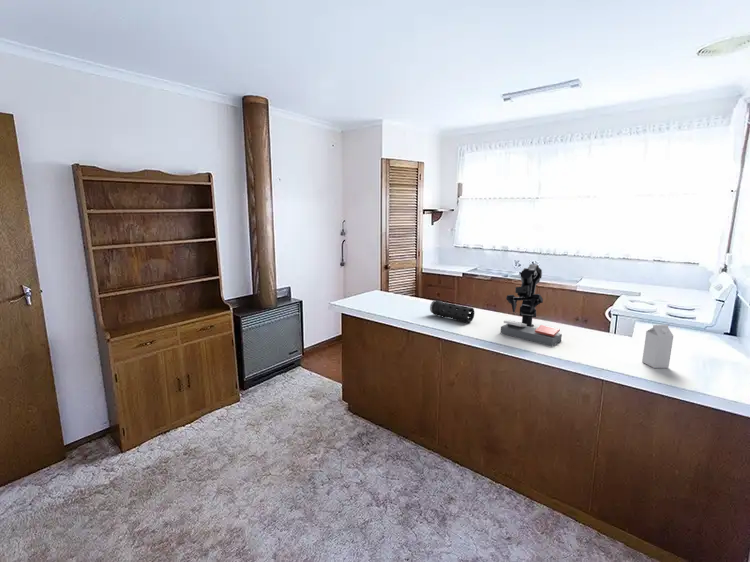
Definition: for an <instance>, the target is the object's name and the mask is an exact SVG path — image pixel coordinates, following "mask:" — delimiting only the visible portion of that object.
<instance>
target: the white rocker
mask: <svg viewBox="0 0 750 562" xmlns="http://www.w3.org/2000/svg"><path fill="white" fill-rule="evenodd" d="M503 324H511V325H515V326H520V327H523V326H527V324H524V323H522V322H520V321H515V320H503Z"/></svg>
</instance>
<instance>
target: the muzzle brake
mask: <svg viewBox="0 0 750 562" xmlns="http://www.w3.org/2000/svg"><path fill="white" fill-rule="evenodd" d="M429 311H430V313H431V314H433V315H435V316H443V317H446V318H449V319H452V320H453V319H454V320H455V321H458V320H459V321H458V322H462V321H463V322H462V323H466V322H467V324H471V322H473V320H474V317H475V309H474V307H471V306H464V305H460V304H459V305H458V304H455V303H449V302H445V301H444V302H443V301H442V300H433V301H431V303H430V306H429ZM443 317H442V318H443Z"/></svg>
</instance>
